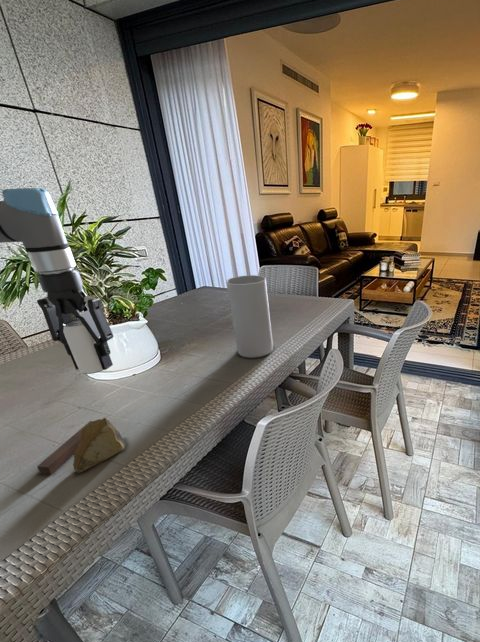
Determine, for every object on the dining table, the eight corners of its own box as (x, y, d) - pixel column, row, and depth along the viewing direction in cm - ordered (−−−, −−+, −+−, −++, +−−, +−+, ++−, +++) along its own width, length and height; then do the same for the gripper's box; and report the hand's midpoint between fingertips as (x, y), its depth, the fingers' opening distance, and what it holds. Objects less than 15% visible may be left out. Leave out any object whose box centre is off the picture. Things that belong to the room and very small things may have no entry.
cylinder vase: (230, 355, 122) (217, 282, 110) (251, 342, 132) (242, 274, 120) (260, 361, 117) (250, 286, 105) (279, 346, 127) (273, 276, 115)
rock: (66, 476, 69) (120, 454, 72) (50, 436, 69) (104, 416, 73) (86, 472, 79) (132, 452, 83) (71, 437, 80) (118, 419, 83)
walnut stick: (51, 474, 73) (47, 467, 72) (40, 473, 73) (36, 466, 73) (102, 427, 87) (99, 421, 86) (92, 427, 87) (90, 420, 86)
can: (93, 361, 89) (76, 316, 84) (115, 363, 88) (99, 317, 82) (73, 373, 84) (53, 326, 78) (96, 375, 83) (77, 327, 77)
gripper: (110, 266, 77) (140, 360, 88) (30, 267, 79) (70, 359, 90) (86, 274, 70) (121, 375, 81) (0, 275, 73) (46, 373, 84)
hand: (94, 366), depth 86 cm, fingers closed on can, 6 cm apart
